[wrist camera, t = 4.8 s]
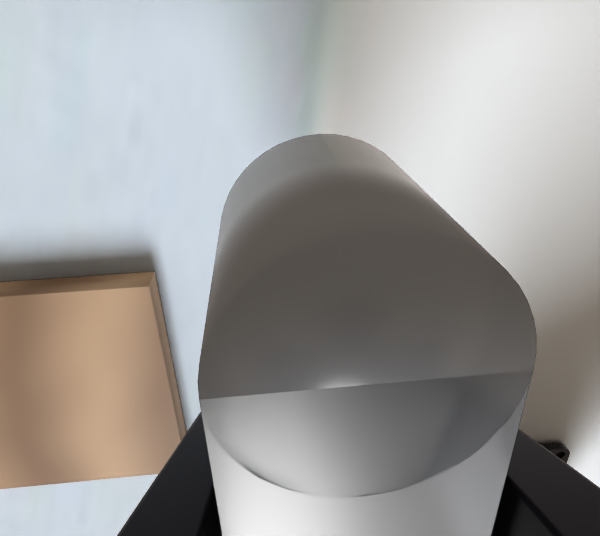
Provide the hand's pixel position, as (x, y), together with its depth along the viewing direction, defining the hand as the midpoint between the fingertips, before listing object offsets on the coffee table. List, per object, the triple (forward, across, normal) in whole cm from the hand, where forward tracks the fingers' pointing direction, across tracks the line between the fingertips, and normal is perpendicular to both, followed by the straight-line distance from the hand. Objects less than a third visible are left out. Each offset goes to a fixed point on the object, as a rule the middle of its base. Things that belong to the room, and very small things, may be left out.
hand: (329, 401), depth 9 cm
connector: (+1, 0, +1) cm, 2 cm away
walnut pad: (+10, +11, +7) cm, 16 cm away
